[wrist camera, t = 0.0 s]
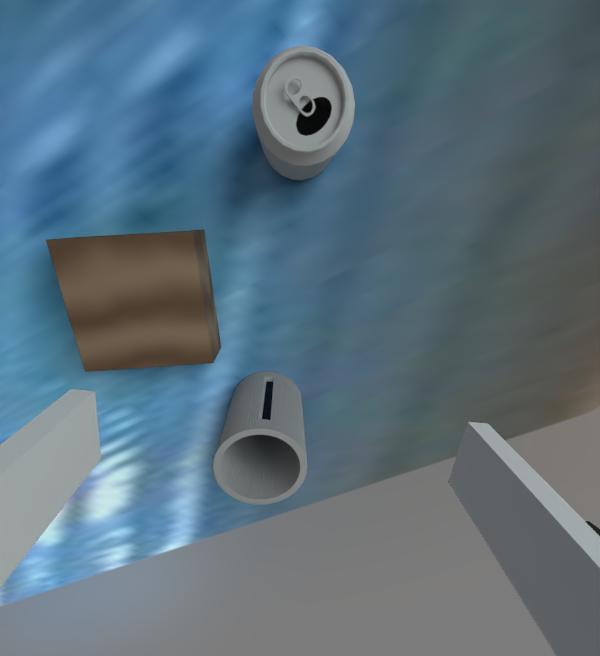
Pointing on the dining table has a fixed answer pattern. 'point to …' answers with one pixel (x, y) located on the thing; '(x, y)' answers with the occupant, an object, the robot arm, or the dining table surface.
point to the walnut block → (138, 299)
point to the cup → (262, 442)
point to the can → (302, 111)
